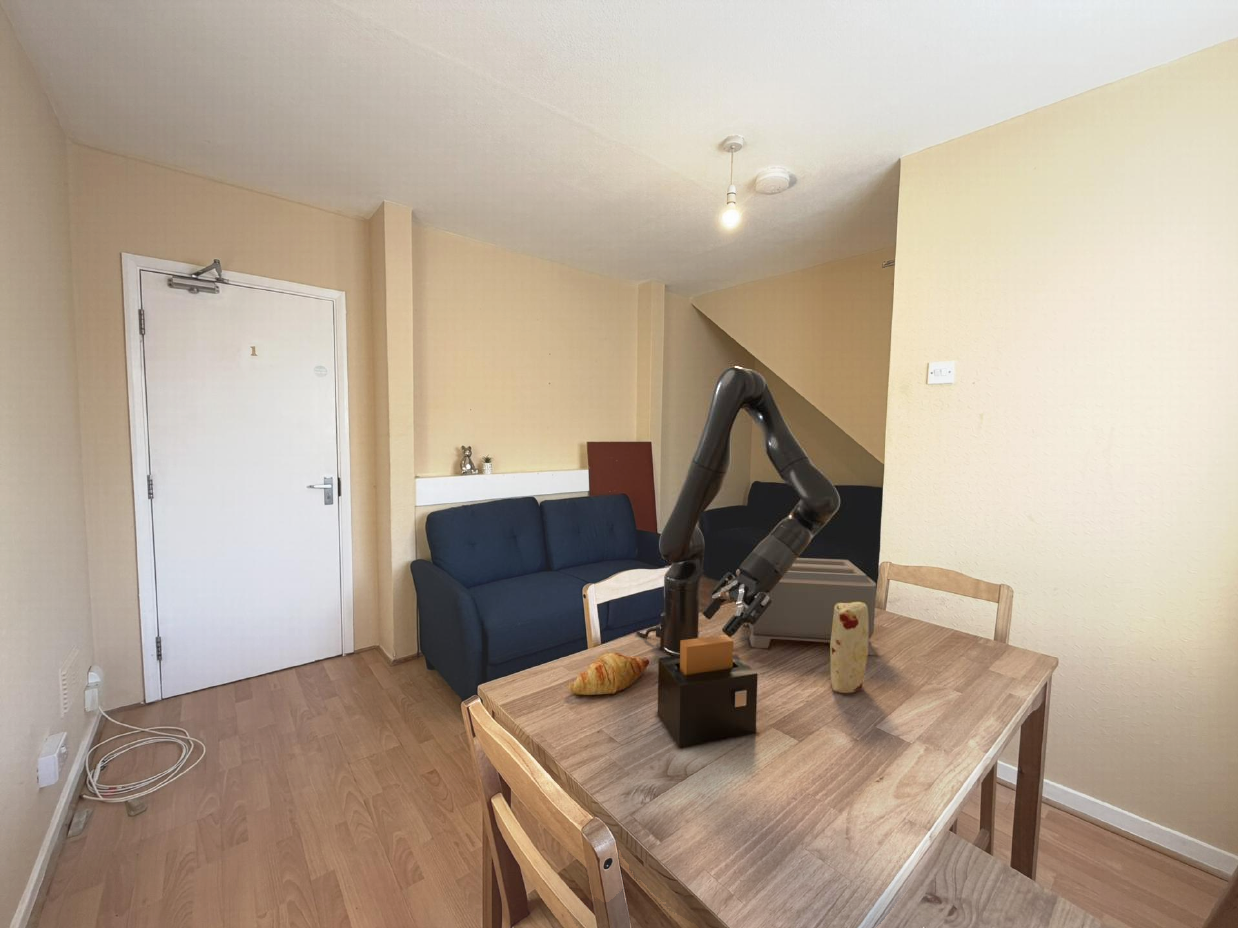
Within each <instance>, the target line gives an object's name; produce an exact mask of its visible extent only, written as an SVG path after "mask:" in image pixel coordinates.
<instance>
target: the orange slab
mask: <svg viewBox="0 0 1238 928" xmlns="http://www.w3.org/2000/svg"><path fill="white" fill-rule="evenodd" d="M733 652H734V639H732V637H728V636H727V635H726V634H721V635H712V636H706V637H705V636H704V637H698V638H696V639H688V640H681V641H680V671H681V672H682V673H683V675H690V674H696V673H703V672H710V671H716V670H723V669H729V668H733Z"/></svg>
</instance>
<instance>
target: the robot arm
mask: <svg viewBox="0 0 1238 928" xmlns="http://www.w3.org/2000/svg"><path fill="white" fill-rule="evenodd" d="M741 410H744V411H745V412H746V413H747V414H748V415H749V416H750V417H751V419H753V421H754V422H755V424H756V425H757V428H758V430H759V432H760V435H761V439H762V443H763V446H764V451H765V453H766V456H767V457H768V459H769V462H770V463H771V464H772V466H773V467H774V469H775V471H776V472H777V474H778V475H779V477H780V478H781V480H782V481H783V482H784V483H785V484H786V485H787V486H791V487H792V488H793V489H794V490H795V492H796V494H797V495H798V496H799V498H800V500H799V501H798V502H797V504H796V505H795V506H794V508H793V509H792V510H791V511H790V512H789V514H787V516H786V517H785V518H783V519H782V520H781V521H779V522H778V523H777V524H776V526H775V527H773V529H772V530H771V532H769V534H768V535H767V536H766V537H765V538H763V540H761V541H760V542H759V543H758V544H757V546H755V548H754V549H753V550H752V551H751V552H750V553H749V554H748V556H747V557H746V558H745V559H744V560H743V562H741V564H740V565H739V567H738V569H739V570H740V574H739V575H738V576H737V575H736V576H734V575H733V574H732V573H731V571H728V572H726V573H725V574H724V575H723V577H722V578H721V579H720V580H719V581H718V582H716V584H715V585H714V586H713V587H712V588H711V589H710V594H711V600H710V601H709V602H708V604H706V606H705V607H704V608H703V610H702V611H701V614H702V615H703V616H704V617H705V618H706V619H707V620H711V619H712V618H713V617H714V615H716V613H717V612H719V610H720V609H721V608H722V606H724V605H726V604H728V603H729V604H732V603H735V604H736V606H737V607H736V611H735V614H733V615H732V616H731V617H730V619H729V620H728V621H727V622H726V623H725V625H724V626H723V627H721V631H722V632H723V633H724V635H727V636H728V637H729V638H732V637H733V636H734V635H735V634H736V633H737V632H738V631H739V629H740V628H741V627H742V626H743V625H745V624H746V623H750V624H751V625H754V624H755V623H756V622H757V620H758V619H759V618H760V617H761V615H762V614H763V613H764V611H765V610H766V609H767V608H768V606H769V605H770V604H771V602H772V600H771V599H770V598H769V597H768V596H767V595H766V594H765V593H769V592H770V591H771V590H772V589H773V588H774V587H775V585H776V584H777V583H778V582H779V581H780V580H781V578H782V577H783V576H784V575H785V574H786V573H787V571H788V570H789V569H790V568H791V566H792V565H793V563H794V561H795V560H796V559H797V558H799V557H800V556H801V554H802V553H803V552H804V550H805V549H806V548H807V547H808V545H809V544H810V543H811V541H812V539H813V538H814V537H815V536H816V535H817V534H818V533H819V532H820V531H821V530H822V529H823V528H824V527H825V526H826V525H827V524H828V522H829V521H831V519H832V518H833V517H834V515H835V514H836V513H837V512H838V510H839V508H840V506H841V497H840V494H839V492H838V490H837V488H836V486H835V485H834V484H833V482H832V481H830V480H829V479H828V477H827V476H826V475H824V473H823V472H822V471H821V470H820V469H819V468H817V466H815V465H814V464H813V462H812V460H811V459H810V458H809V456H808V454H807V453H806V451H805V450H804V448H803V447H802V446H801V444H800V443H799V441H798V439H797V438H796V437H795V435H794V433H793V432H792V430H791V429H790V427H789V426H788V423H787V422H786V421H785V418H784V417H783V414H782V412H781V411H780V408H779V406H778V405H777V403H776V401H775V399H774V396H773V393H772V391H771V389H770V387H769V384H768V383H767V381H766V379H765V378H764V376H763V375H762V374H761V373H760V372H758V371H756V370H754V369H749V368H745V367H741V366H730V367H727V368H726V369H724V370H723V371H722V372H721V374H720V375H719V376H718V378H717V380H716V382H715V385H714V389H713V393H712V396H711V400H710V405H709V408H708V412H707V416H706V418H705V422H704V425H703V428H702V431H701V434H700V436H699V439H698V442H697V445H696V448H695V451H694V453H693V455H692V458H691V460H690V463H689V466H688V467H687V471H686V474H685V477H684V481H683V483H682V485H681V488H680V491H679V493H678V497H677V499H676V501H675V505H674V507H673V509H672V511H671V513H670V515H669V517H668V519H667V521H666V523H665V525H664V527H663V529H662V531H661V533H660V536H659V539H658V550H659V554H660V555H661V557H662V559H663V560H664V561H666V562H667V563H671V565H670V566H669V568H668V569H667V571H666V572H665V573H664V576H663V612H661V613H660V622H659V624H657V625H656V626H655V627H651V628H648V629H646V631H645V633H644V632H641V631H640V630H639V631H638V630H637V631H636V635H638V636H639V637H642V638H647V637H648V636H649V635H650V633H651V632H655V638H659V639H660V640H659V650H662V651H664V652H665V653H667V654H669V655H670V656H676V655H680V641H681V640H688V639H696V638H699V636H700V633H701V632H700V631H701V630H700V629H699V627H700V625H699V623H700V584H701V583H700V582H701V579H702V576H703V572H704V563H705V562H704V561H705V539H704V535H703V532H702V530H701V529H700V528H699V526H697V525H698V522H699V521H700V518H701V517H702V515H703V514H704V512H705V511H706V510H707V509H708V507H709V506H710V505H711V503H712V502H713V501H714V500H715V499H716V497H717V496H718V494H719V493H720V491H721V489H722V488H723V486H724V483H725V480H726V478H727V475H728V474H729V471H730V467H731V464H732V432H733V427H734V425H735V422H736V420H737V417H738V414H739V413H740V411H741ZM719 590H720V591H719ZM764 592H765V593H764ZM754 610H755V611H756V612H755V614H754V615H753V616H751V613H752V612H753V611H754ZM640 632H641V633H640Z"/></svg>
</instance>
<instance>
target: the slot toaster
mask: <svg viewBox="0 0 1238 928" xmlns="http://www.w3.org/2000/svg"><path fill="white" fill-rule="evenodd" d="M657 661H658V663H657V716H658V717H659V719H660V720H661V722H662V723H663V725H664V727H665V728H666V729H667V731H668V733H669V734H670V736H671V738H672V739H673V741H674V743H675V744H676V746H677V747H678V749H683V748H687V747H693V746H699V745H703V744H704V745H705V744H708V743H714V742H718V741H723V740H728V739H734V738H738V737H744V736H748V735H749V736H750V735H753V734H757V709H758V707H757V706H758V705H757V704H758V676H759V675H758V673H759V672H757V671H756V670H755V669H754V668H752V667H751V666H750V665H749V664H748V663H746V662H745V660H743V659H742V658H741V657H740V656H738V654H736V653H735V652H734V651H733V668H729V669H723V670H716V671H710V672H703V673H696V674H690V675H683V673H682V672H681V671H680V655H676V656H674V655H669V656H662V657H658V660H657Z"/></svg>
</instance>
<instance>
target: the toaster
mask: <svg viewBox="0 0 1238 928" xmlns="http://www.w3.org/2000/svg"><path fill="white" fill-rule="evenodd" d="M739 574H740V570H739V568H737V569H736V571H735V575H736V577H737V576H738V575H739ZM876 591H877V584H876V581H874V580H873V579H872V578H870V577H869V576H867V574H866V573H864V572H863V571H862V570H861V569H859V567H857V566H856V565H855V564H854V563H852V562H851V561H850V560H849V559H833V558H831V559H830V558H810V557H809V558H808V557H798V558H797V559H796V560H795V561H794V563H793V565H792V566H791V568H790V569H789V570H788V571H787V573H786V574H785V575H784V576H783V577H782V578H781V580H780V581H779V582H778V583H777V584H776V585H775V587H774V588H773V589H772V590H771V591H770V592H769V593H765V592H764V593H765V594H766V595H767V596H768V597H769V598H770V599H771V600H772V602H771V604H770V605H769V606H768V608H767V609H766V610H765V611H764V613H763V614H762V615H761V617H760V618H759V619H758V620H757V622H756V623H755V624H754V625H751V624H750V623H746V624H745V623H744V626H746V627H749V629H750V635H749V642H750V646H751V648H757V649H768V648H769V646H770V642H771V640H784V641H786V640H787V641H801V642H802V641H803V642H817V643H830V642H831V634H832V625H833V616H834V607H835V605H836V604H837V603H852V602H862V603H865V604H866V606H867V608H868V623H869V632H868V656H876V653H875V650H874V648H873V645H872V642H871V641H870V639H872V636H873V635H874V632H875V615H876V614H875V610H876V595H877V593H876ZM755 612H756V611H755V610H754V611H753V612H752V613H751V616H753V615H754V614H755Z"/></svg>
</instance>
